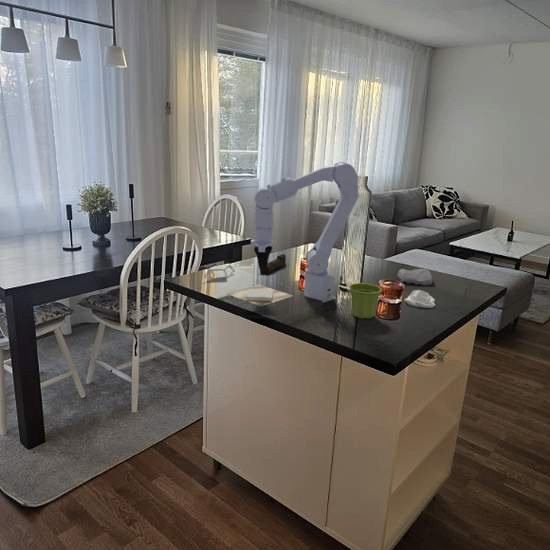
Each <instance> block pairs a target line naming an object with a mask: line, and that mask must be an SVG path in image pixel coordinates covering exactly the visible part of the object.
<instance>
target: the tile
mask: <svg viewBox="0 0 550 550" xmlns="http://www.w3.org/2000/svg"><path fill="white" fill-rule="evenodd" d="M272 296H273V290H265V289H249V290H248V292H247V295H246V300H253V301H272Z"/></svg>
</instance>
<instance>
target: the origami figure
mask: <svg viewBox="0 0 550 550" xmlns="http://www.w3.org/2000/svg"><path fill="white" fill-rule="evenodd" d="M228 268H229V269H231V270H232V271H231V272H230V273H229V275H230V276H231V275H232V274H233V273H235V271H236V270H235V268H234V267H232V265H231V264H220V265H215V266H214V265H213V266H212V267H210V268H208V269H207V272H206V274H205V275H204V279H206V280H209V278H208V277H207V276H208V275H209V273H210V272H211V274H212V276H213V277H216V276H215V273H214V272H215V271H217V272H218V271H219V272H220V271H223V272H224V276H225V278H224V280H227V279H228V277H229V276H228V274H227V271H226V270H227V269H228Z"/></svg>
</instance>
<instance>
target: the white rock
mask: <svg viewBox="0 0 550 550" xmlns="http://www.w3.org/2000/svg"><path fill="white" fill-rule="evenodd" d="M404 302H405V303H406V304H408V305H409V306H412V307H416V308H417V307H418V308H422V309H423V308H425V309H432V308H434V307H436V303H435V298H434V297H433V296H431V295H430V293H429V292H426V291H425V290H420V289H415V290H412V292H410V294H409V295H408V297H406V298H405V299H404Z"/></svg>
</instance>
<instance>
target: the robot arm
mask: <svg viewBox="0 0 550 550" xmlns="http://www.w3.org/2000/svg"><path fill="white" fill-rule="evenodd" d="M358 176H359V175H358V174H357V172H356V169H355V168H354V167H353V165H352V164H349V163H346V162H345V161H344V162H343V161H337V162H335V163H334V164H333V163H332V164H328V165H324V166H321V167H320V168H318V169H316V170H313V171H311V172H309V173H307V174H304V175H302V176H299V178H295V179H293V178H290V177H287V178H286V177H282V178H280V181H278V182H275V183H273V184H271V185H270V184H267V185H266V188H265V187H263V188H259V189H258V190H257V191H256V193H255V196H254V201H255V207H254V210H255V212H254V236H253V237H254V239H250V244H254V245H255V246H254V247H253V251H254V253H255V254H256V259H257V263H258V269H259V270H260V269H263V270H266V267H267V263H269V257H270V254H271V253H272V251H273V246H272V245H273V244H274V240H273V238H274V237H273V232H274V231H273V230H274V229H273V228H274V212H273V205H274V203H276V204H278V203H280V202H283V201H285V200H287V199H290V198H292V197H295V196H296V195H297V193H298V191H299V190H301V189H303V188H306V187H309V186H312V185H314V184H317V183H319V182H322V181H324V182H331V183H335V184H336V185H337V188H338V190H339V192H340V197H339V200H338V202H337V203H336V206H335V207H334V209H333V211H332V213H331V215H330V217H329V218H328V220H327V223H326V225H325V227H324V229H323V231H322V232H321V234H320V237H319V238H318V240H317V241H316V242H315V244H314V245H313V247H312V248H311V249H309V250H308V251H307V253H306V255H305V260H306V263H307V266H306V268H305V269H304V271H305V272H304V287H303V288H304V290H303V296H305V297H307V298H310V299H315V300H318V301H320V302H322V303H323V304H324V303H327V302H329V301H333V300H334V299H336V296H335V285H336V281H335V277H334V276H333V275H332V274H330V273H329V272H328V271H329V270H328V267H329V261H330V260H329V259H330V257H331V254H332V250H333V247H334V245H335V243H336V241H337V240H338V237H339V236H340V233H341V232H342V231H343V228H344V226H345V224H346V222H347V220H348V218H349V216H350V214H351V212H352V211H353V209H354V206H355V205H356V203H357V201H358V199H359V197H360V196H359V184H358V183H359V182H358V180H359V177H358Z"/></svg>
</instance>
